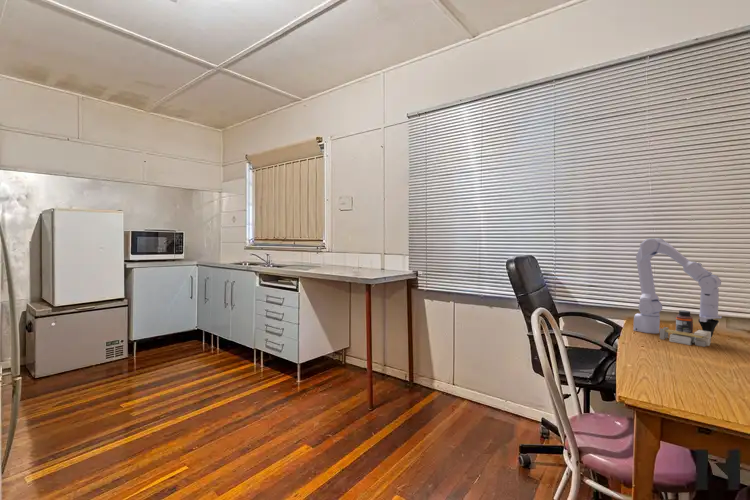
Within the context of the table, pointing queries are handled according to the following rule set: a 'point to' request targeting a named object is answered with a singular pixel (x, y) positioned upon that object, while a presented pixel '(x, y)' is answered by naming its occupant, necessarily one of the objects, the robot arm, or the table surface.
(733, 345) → the table surface
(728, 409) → the table surface
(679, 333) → the strap
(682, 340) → the heatsink
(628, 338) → the table surface
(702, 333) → the white l-shaped block
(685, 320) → the supplement bottle
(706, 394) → the table surface
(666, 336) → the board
